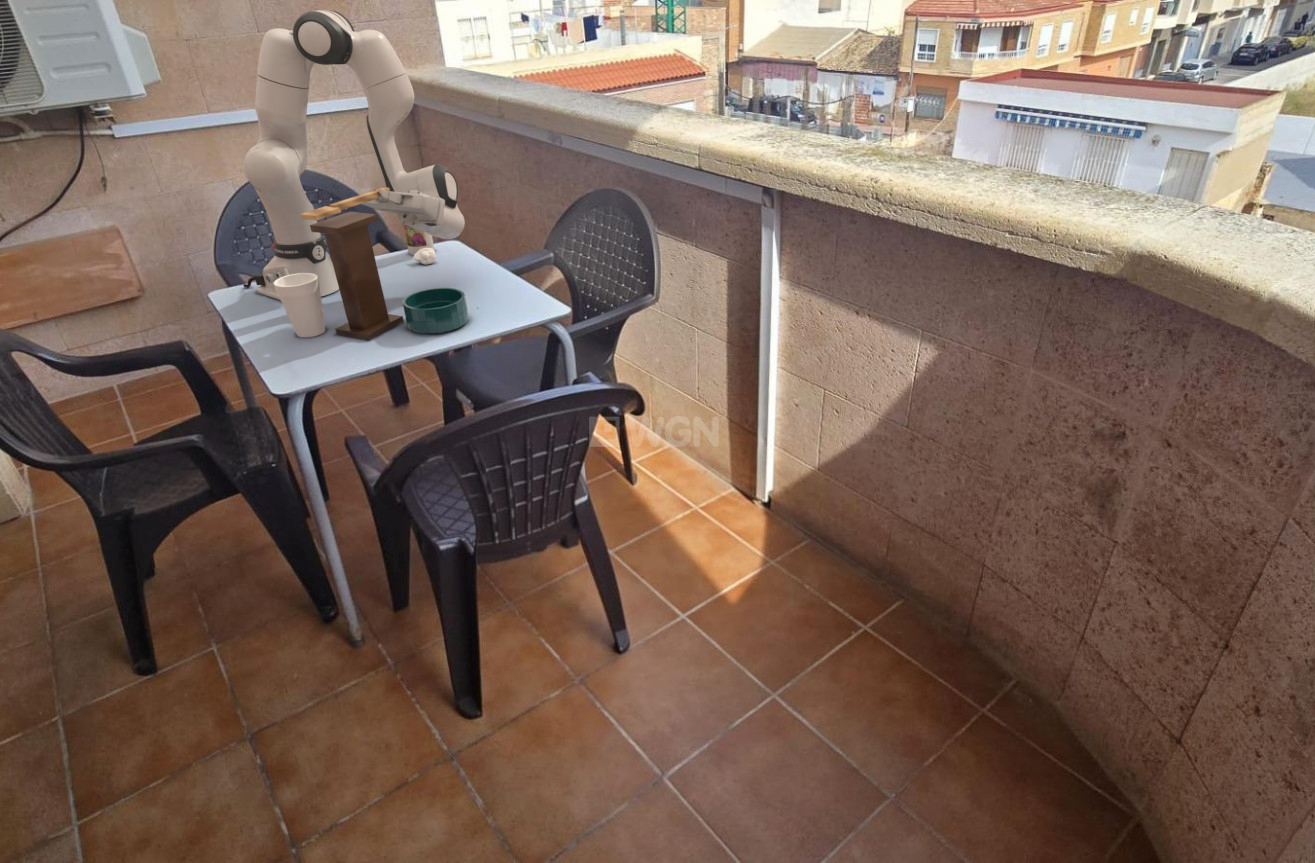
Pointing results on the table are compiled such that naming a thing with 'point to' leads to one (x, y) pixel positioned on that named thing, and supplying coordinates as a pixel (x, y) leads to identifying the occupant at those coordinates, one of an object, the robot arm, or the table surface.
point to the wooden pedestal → (357, 275)
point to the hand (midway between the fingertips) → (375, 192)
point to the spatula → (341, 205)
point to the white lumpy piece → (425, 256)
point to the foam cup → (302, 302)
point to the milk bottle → (417, 239)
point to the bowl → (435, 310)
